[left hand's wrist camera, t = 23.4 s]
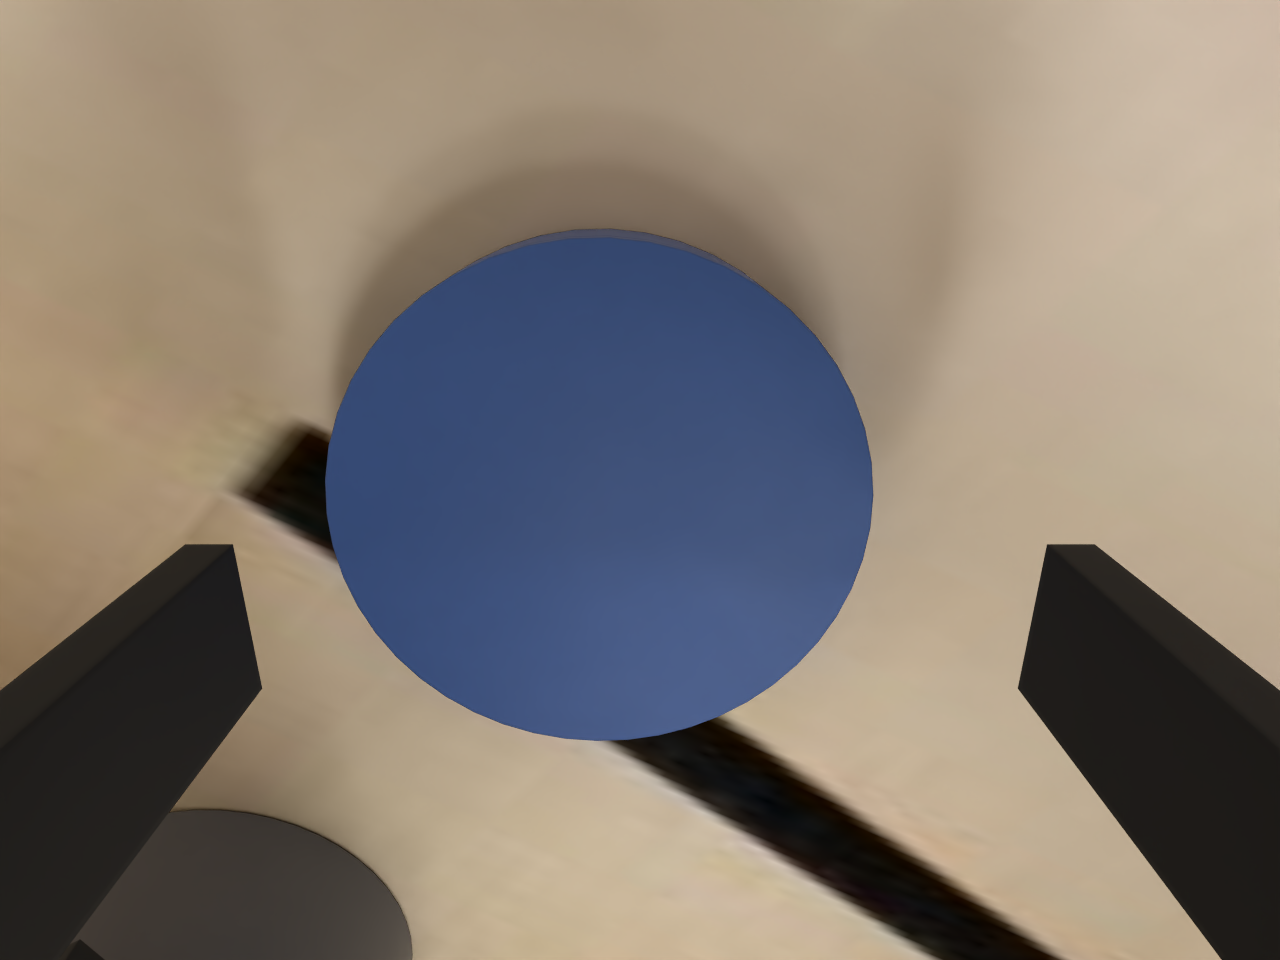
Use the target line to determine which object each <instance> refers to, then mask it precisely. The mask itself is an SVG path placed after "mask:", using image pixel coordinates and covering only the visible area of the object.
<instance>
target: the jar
mask: <svg viewBox="0 0 1280 960" xmlns="http://www.w3.org/2000/svg"><path fill="white" fill-rule="evenodd" d="M79 939H81V940H82V941H83V942H84V943H85V944H87V945H88V946H89V947H90V948H91V949H93V950H94V951H95V952H96V953H97V954H99V955H100V956H101V957H102V958H103V959H105V960H412V944H411V937H410V933H409V929H408V926H407V922H406V920H405V917H404V915H403V913H402V911H401V909H400V907H399V905H398V903H397V902H396V900H395V899H394V897H393V896H392V894H391V893H390V891H389V890H388V888H387V887H386V886H385V885H384V884H383V883H382V882H381V880H380V879H379V878H378V877H377V876H376V875H375V874H374V873H373V872H372V871H371V870H370V869H369V868H367V867H366V866H365V865H364V864H363V863H362V862H361V861H359V860H358V859H357V858H355V857H354V856H352V855H351V854H350V853H348V852H347V851H345V850H344V849H342V848H341V847H339V846H338V845H336V844H334V843H332V842H330V841H328V840H327V839H325V838H323V837H321V836H319V835H317V834H315V833H312V832H310V831H307V830H305V829H303V828H300V827H298V826H295V825H292V824H289V823H286V822H282V821H279V820H276V819H273V818H268V817H263V816H259V815H254V814H249V813H242V812H233V811H223V810H191V811H180V812H171V813H168V814H167V816H166V817H165V818H164V820H163V821H162V822H161V824H160V825H159V826H158V828H157V829H156V830H155V832H154V833H153V834H152V836H151V837H150V838H149V840H148V841H147V842H146V844H145V845H144V846H143V848H142V849H141V850H140V852H139V853H138V854H137V856H136V857H135V858H134V860H133V861H132V862H131V864H130V865H129V866H128V867H127V869H126V870H125V871H124V873H123V874H122V875H121V877H120V878H119V879H118V881H117V882H116V883H115V885H114V886H113V887H112V889H111V890H110V891H109V893H108V894H107V895H106V897H105V898H104V899H103V901H102V902H101V903H100V905H99V906H98V907H97V909H96V910H95V911H94V913H93V914H92V915H91V917H90V918H89V919H88V921H87V922H86V923H85V925H84V926H83V927H82V929H81V930H80V931H79V933H78V934H77V935H76V937H75V938H74V939H73V941H72V942H71V943H73V942H75V941H77V940H79ZM71 943H70V944H71Z"/></svg>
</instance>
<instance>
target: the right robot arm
mask: <svg viewBox="0 0 1280 960" xmlns="http://www.w3.org/2000/svg"><path fill="white" fill-rule="evenodd" d="M58 960H105V959H103V958H102V957H101V956H100V955H99V954H97V953H96V952H95V951H94V950H93V949H91V948H90V947H89V946H88V945H87V944H85V943H84V942H83V941H82V940H81V939H79V940H77V941H75V942H73V943H71V944H70V945H69V946H68V947H67V949H66V950H65V951H64V953H63V954H62V955H61V957H60V958H59V959H58Z"/></svg>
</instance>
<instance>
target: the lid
mask: <svg viewBox="0 0 1280 960" xmlns="http://www.w3.org/2000/svg"><path fill="white" fill-rule="evenodd" d="M325 485H326V508H327V517H328V523H329V528H330V533H331V539H332V544H333V548H334V551H335V554H336V557H337V560H338V563H339V566H340V569H341V572H342V575H343V577H344V579H345V581H346V584H347V586H348V588H349V590H350V592H351V594H352V596H353V598H354V600H355V602H356V604H357V606H358V607H359V609H360V610H361V612H362V613H363V615H364V616H365V618H366V619H367V621H368V622H369V624H370V625H371V627H372V628H373V630H374V631H375V633H376V634H377V635H378V636H379V637H380V638H381V640H382V641H383V642H384V643H385V644H386V645H387V647H388V648H389V649H390V650H391V651H392V652H393V653H394V655H395V656H396V657H397V658H398V659H399V660H400V661H402V662H403V663H404V664H405V665H406V666H407V667H408V668H409V669H410V670H412V671H413V672H414V673H415V674H416V675H417V676H418V677H419V678H420V679H422V680H423V681H425V682H426V683H428V684H429V685H430V686H432V687H433V688H435V689H436V690H437V691H439V692H440V693H442V694H443V695H444V696H446V697H448V698H449V699H451V700H453V701H455V702H457V703H459V704H460V705H462V706H464V707H466V708H468V709H469V710H471V711H473V712H475V713H478V714H480V715H482V716H485V717H487V718H490V719H492V720H495V721H497V722H499V723H502V724H505V725H508V726H511V727H515V728H518V729H522V730H525V731H529V732H532V733H537V734H542V735H548V736H554V737H559V738H565V739H579V740H594V741H602V740H628V739H635V738H642V737H649V736H656V735H661V734H665V733H669V732H673V731H677V730H681V729H685V728H689V727H692V726H694V725H697V724H700V723H702V722H705V721H708V720H710V719H713V718H716V717H718V716H720V715H722V714H724V713H726V712H728V711H730V710H732V709H734V708H736V707H738V706H740V705H742V704H744V703H746V702H748V701H749V700H751V699H752V698H754V697H755V696H757V695H758V694H760V693H761V692H763V691H764V690H766V689H767V688H769V687H770V686H772V685H773V684H775V683H776V682H777V681H778V680H779V679H780V678H782V677H783V676H784V675H785V674H786V673H788V672H789V671H790V670H791V669H792V668H794V667H795V666H796V665H797V664H798V663H799V662H800V661H801V660H802V659H803V658H804V656H805V655H806V654H807V653H808V652H809V651H810V650H811V649H812V648H813V647H814V646H815V645H816V644H817V643H818V641H819V640H820V639H821V637H822V636H823V634H824V633H825V632H826V630H827V629H828V628H829V626H830V625H831V623H832V622H833V621H834V619H835V618H836V616H837V615H838V613H839V611H840V609H841V607H842V605H843V604H844V602H845V600H846V598H847V596H848V594H849V593H850V591H851V589H852V586H853V584H854V581H855V578H856V576H857V573H858V571H859V568H860V565H861V563H862V560H863V556H864V552H865V548H866V544H867V539H868V535H869V531H870V525H871V514H872V503H873V481H872V462H871V457H870V452H869V447H868V442H867V437H866V432H865V428H864V425H863V422H862V419H861V416H860V413H859V411H858V408H857V405H856V402H855V399H854V397H853V395H852V393H851V391H850V389H849V387H848V385H847V383H846V381H845V379H844V377H843V376H842V374H841V372H840V370H839V368H838V366H837V364H836V363H835V362H834V360H833V359H832V357H831V356H830V355H829V353H828V352H827V351H826V349H825V348H824V346H823V345H822V344H821V342H820V341H819V340H818V338H817V337H816V335H815V334H814V333H813V332H812V331H811V330H810V329H809V328H808V327H807V326H806V325H805V324H804V323H803V322H802V321H801V320H800V319H799V318H798V317H797V316H796V315H795V314H794V313H793V312H792V311H791V310H790V309H789V308H788V307H787V306H785V305H784V304H783V303H782V302H780V301H779V300H778V299H777V298H775V297H774V296H773V295H771V294H770V293H769V292H768V291H766V290H765V289H764V288H763V287H761V286H760V285H759V284H757V283H756V282H755V281H753V280H752V279H751V278H750V277H748V276H747V275H746V274H744V273H743V272H742V271H740V270H739V269H737V268H735V267H733V266H732V265H730V264H728V263H726V262H725V261H723V260H721V259H719V258H718V257H716V256H714V255H712V254H710V253H708V252H705V251H703V250H700V249H698V248H695V247H693V246H690V245H688V244H685V243H683V242H680V241H677V240H673V239H669V238H665V237H661V236H657V235H653V234H649V233H644V232H635V231H626V230H617V229H586V230H571V231H565V232H559V233H553V234H547V235H541V236H537V237H534V238H531V239H528V240H525V241H521V242H518V243H515V244H512V245H509V246H506V247H504V248H502V249H500V250H498V251H495V252H493V253H491V254H489V255H487V256H485V257H483V258H481V259H479V260H477V261H475V262H473V263H471V264H470V265H468V266H466V267H465V268H463V269H462V270H460V271H458V272H457V273H455V274H453V275H452V276H450V277H449V278H447V279H446V280H444V281H443V282H441V283H440V284H438V285H437V286H435V287H434V288H432V289H431V290H429V291H428V292H426V293H425V294H423V295H422V296H421V297H420V298H418V299H417V300H416V301H415V302H414V303H413V304H412V305H411V306H409V307H408V308H407V309H406V310H405V311H404V312H403V313H402V314H401V315H399V316H398V317H397V318H396V319H395V320H394V321H393V322H392V323H391V324H390V326H389V327H388V328H387V329H386V330H385V332H384V333H383V334H382V335H381V336H380V338H379V339H378V340H377V341H376V342H375V344H374V345H373V346H372V347H371V348H370V350H369V351H368V353H367V355H366V356H365V358H364V360H363V361H362V363H361V365H360V366H359V368H358V369H357V371H356V373H355V374H354V376H353V378H352V379H351V381H350V384H349V386H348V388H347V391H346V393H345V396H344V398H343V400H342V403H341V405H340V407H339V410H338V412H337V416H336V420H335V424H334V428H333V432H332V435H331V439H330V443H329V449H328V458H327V468H326V478H325Z"/></svg>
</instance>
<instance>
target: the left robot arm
mask: <svg viewBox="0 0 1280 960" xmlns="http://www.w3.org/2000/svg"><path fill="white" fill-rule="evenodd" d="M261 689H262V686H261V681H260V676H259V671H258V666H257V661H256V656H255V651H254V646H253V641H252V636H251V631H250V627H249V622H248V617H247V612H246V607H245V602H244V597H243V592H242V587H241V582H240V577H239V572H238V567H237V562H236V558H235V553H234V548H233V544H185V545H184V546H183V547H182V548H180V549H179V550H178V551H176V552H175V553H174V554H173V555H171V556H170V557H169V558H168V559H166V560H165V561H164V562H163V563H161V564H160V565H159V566H157V567H156V568H155V569H154V570H152V571H151V572H150V573H149V574H147V575H146V576H145V577H144V578H142V579H141V580H140V581H138V582H137V583H136V584H135V585H133V586H132V587H131V588H130V589H128V590H127V591H126V592H125V593H123V594H122V595H121V596H119V597H118V598H117V599H116V600H114V601H113V602H112V603H111V604H109V605H108V606H107V607H106V608H104V609H103V610H102V611H100V612H99V613H98V614H97V615H95V616H94V617H93V618H92V619H90V620H89V621H88V622H87V623H85V624H84V625H83V626H81V627H80V628H79V629H78V630H76V631H75V632H74V633H73V634H71V635H70V636H69V637H67V638H66V639H65V640H64V641H62V642H61V643H60V644H59V645H57V646H56V647H55V648H54V649H52V650H51V651H50V652H48V653H47V654H46V655H45V656H43V657H42V658H41V659H40V660H38V661H37V662H36V663H35V664H33V665H32V666H31V667H29V668H28V669H27V670H26V671H24V672H23V673H22V674H21V675H19V676H18V677H17V678H16V679H14V680H13V681H12V682H10V683H9V684H8V685H7V686H5V687H4V688H3V689H2V690H0V960H58V959H59V958H60V957H61V955H62V954H63V953H64V951H65V950H66V949H67V947H68V946H69V945H70V943H71V942H72V941H73V939H74V938H75V937H76V935H77V934H78V933H79V931H80V930H81V929H82V927H83V926H84V925H85V923H86V922H87V921H88V919H89V918H90V917H91V915H92V914H93V913H94V911H95V910H96V909H97V907H98V906H99V905H100V903H101V902H102V901H103V899H104V898H105V897H106V895H107V894H108V893H109V891H110V890H111V889H112V887H113V886H114V885H115V883H116V882H117V881H118V879H119V878H120V877H121V875H122V874H123V873H124V871H125V870H126V869H127V867H128V866H129V865H130V864H131V862H132V861H133V860H134V858H135V857H136V856H137V854H138V853H139V852H140V850H141V849H142V848H143V846H144V845H145V844H146V842H147V841H148V840H149V838H150V837H151V836H152V834H153V833H154V832H155V830H156V829H157V828H158V826H159V825H160V824H161V822H162V821H163V820H164V818H165V817H166V816H167V814H168V813H169V812H170V810H171V809H172V808H173V806H174V805H175V804H176V802H177V801H178V800H179V798H180V797H181V796H182V794H183V793H184V792H185V790H186V789H187V788H188V786H189V785H190V784H191V782H192V781H193V780H194V778H195V777H196V776H197V774H198V773H199V772H200V770H201V769H202V768H203V766H204V765H205V764H206V762H207V761H208V760H209V758H210V757H211V756H212V754H213V753H214V752H215V750H216V749H217V748H218V746H219V745H220V744H221V742H222V741H223V740H224V738H225V737H226V736H227V734H228V733H229V732H230V730H231V729H232V728H233V726H234V725H235V724H236V722H237V721H238V720H239V718H240V717H241V716H242V714H243V713H244V712H245V710H246V709H247V708H248V707H249V705H250V704H251V703H252V701H253V700H254V699H255V697H256V696H257V695H258V693H259V692H260V691H261ZM1018 689H1019V691H1020V692H1021V693H1022V695H1023V696H1024V697H1025V699H1026V700H1027V701H1028V703H1029V704H1030V705H1031V706H1032V708H1033V709H1034V710H1035V712H1036V713H1037V714H1038V716H1039V717H1040V718H1041V720H1042V721H1043V722H1044V724H1045V725H1046V726H1047V728H1048V729H1049V730H1050V732H1051V733H1052V734H1053V736H1054V737H1055V738H1056V740H1057V741H1058V742H1059V744H1060V745H1061V746H1062V748H1063V749H1064V750H1065V752H1066V753H1067V754H1068V756H1069V757H1070V758H1071V760H1072V761H1073V762H1074V764H1075V765H1076V766H1077V768H1078V769H1079V770H1080V772H1081V773H1082V774H1083V776H1084V777H1085V778H1086V780H1087V781H1088V782H1089V784H1090V785H1091V786H1092V788H1093V789H1094V790H1095V792H1096V793H1097V794H1098V796H1099V797H1100V798H1101V800H1102V801H1103V802H1104V804H1105V805H1106V806H1107V808H1108V809H1109V810H1110V812H1111V813H1112V814H1113V816H1114V817H1115V818H1116V820H1117V821H1118V822H1119V824H1120V825H1121V826H1122V828H1123V829H1124V830H1125V832H1126V833H1127V834H1128V836H1129V837H1130V838H1131V840H1132V841H1133V842H1134V844H1135V845H1136V846H1137V848H1138V849H1139V850H1140V852H1141V853H1142V854H1143V856H1144V857H1145V858H1146V860H1147V861H1148V862H1149V864H1150V865H1151V866H1152V867H1153V869H1154V870H1155V871H1156V873H1157V874H1158V875H1159V877H1160V878H1161V879H1162V881H1163V882H1164V883H1165V885H1166V886H1167V887H1168V889H1169V890H1170V891H1171V893H1172V894H1173V895H1174V897H1175V898H1176V899H1177V901H1178V902H1179V903H1180V905H1181V906H1182V907H1183V909H1184V910H1185V911H1186V913H1187V914H1188V915H1189V917H1190V918H1191V919H1192V921H1193V922H1194V923H1195V925H1196V926H1197V927H1198V929H1199V930H1200V931H1201V933H1202V934H1203V935H1204V937H1205V938H1206V939H1207V941H1208V942H1209V943H1210V945H1211V946H1212V947H1213V949H1214V950H1215V951H1216V953H1217V954H1218V955H1219V957H1220V958H1221V959H1222V960H1280V690H1278V689H1277V688H1276V687H1275V686H1273V685H1272V684H1271V683H1270V682H1268V681H1267V680H1266V679H1264V678H1263V677H1262V676H1261V675H1259V674H1258V673H1257V672H1256V671H1254V670H1253V669H1252V668H1251V667H1249V666H1248V665H1247V664H1245V663H1244V662H1243V661H1242V660H1240V659H1239V658H1238V657H1237V656H1235V655H1234V654H1233V653H1232V652H1230V651H1229V650H1228V649H1226V648H1225V647H1224V646H1223V645H1221V644H1220V643H1219V642H1218V641H1216V640H1215V639H1214V638H1213V637H1211V636H1210V635H1209V634H1207V633H1206V632H1205V631H1204V630H1202V629H1201V628H1200V627H1199V626H1197V625H1196V624H1195V623H1194V622H1192V621H1191V620H1190V619H1188V618H1187V617H1186V616H1185V615H1183V614H1182V613H1181V612H1180V611H1178V610H1177V609H1176V608H1174V607H1173V606H1172V605H1171V604H1169V603H1168V602H1167V601H1166V600H1164V599H1163V598H1162V597H1161V596H1159V595H1158V594H1157V593H1155V592H1154V591H1153V590H1152V589H1150V588H1149V587H1148V586H1147V585H1145V584H1144V583H1143V582H1142V581H1140V580H1139V579H1138V578H1136V577H1135V576H1134V575H1133V574H1131V573H1130V572H1129V571H1128V570H1126V569H1125V568H1124V567H1123V566H1121V565H1120V564H1119V563H1117V562H1116V561H1115V560H1114V559H1112V558H1111V557H1110V556H1109V555H1107V554H1106V553H1105V552H1104V551H1102V550H1101V549H1100V548H1098V547H1097V546H1096V545H1095V544H1047V548H1046V553H1045V558H1044V563H1043V567H1042V572H1041V577H1040V582H1039V587H1038V592H1037V597H1036V602H1035V607H1034V612H1033V617H1032V622H1031V627H1030V631H1029V636H1028V641H1027V646H1026V651H1025V656H1024V661H1023V666H1022V671H1021V676H1020V681H1019V686H1018Z"/></svg>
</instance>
